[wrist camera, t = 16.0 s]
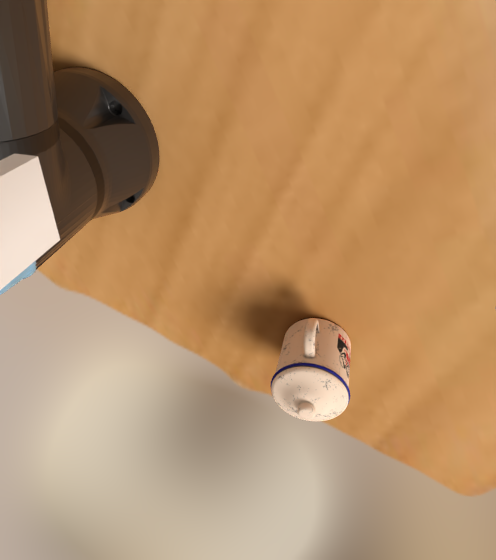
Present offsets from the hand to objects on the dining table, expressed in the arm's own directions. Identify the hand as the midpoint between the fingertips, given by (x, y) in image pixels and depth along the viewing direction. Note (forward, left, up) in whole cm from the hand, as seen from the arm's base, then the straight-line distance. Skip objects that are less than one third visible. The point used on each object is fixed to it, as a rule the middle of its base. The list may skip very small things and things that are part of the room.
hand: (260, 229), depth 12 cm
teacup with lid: (+2, -32, -32) cm, 45 cm away
